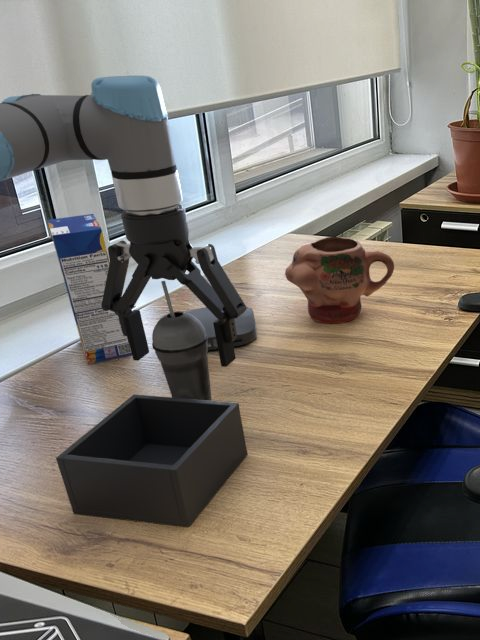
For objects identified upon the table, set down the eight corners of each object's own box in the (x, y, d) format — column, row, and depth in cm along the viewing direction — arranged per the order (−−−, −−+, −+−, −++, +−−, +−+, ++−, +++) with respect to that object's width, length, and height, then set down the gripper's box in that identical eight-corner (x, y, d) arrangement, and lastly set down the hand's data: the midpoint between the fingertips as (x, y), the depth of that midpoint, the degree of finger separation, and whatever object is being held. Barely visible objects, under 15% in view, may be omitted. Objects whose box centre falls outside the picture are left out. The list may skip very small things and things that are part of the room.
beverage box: (88, 365, 117) (52, 235, 107) (80, 341, 125) (47, 219, 115) (132, 355, 120) (101, 228, 110) (122, 332, 128) (93, 213, 119)
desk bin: (73, 514, 82) (55, 457, 78) (146, 444, 95) (133, 394, 91) (189, 527, 79) (175, 470, 76) (247, 454, 92) (238, 402, 89)
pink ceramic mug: (391, 297, 142) (387, 229, 136) (400, 320, 132) (396, 248, 126) (290, 306, 138) (281, 238, 132) (291, 331, 128) (281, 257, 122)
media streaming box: (253, 314, 135) (251, 299, 134) (258, 345, 123) (256, 329, 121) (172, 325, 131) (169, 310, 130) (169, 358, 119) (165, 341, 117)
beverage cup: (187, 432, 97) (158, 297, 89) (158, 416, 101) (127, 285, 93) (232, 410, 103) (208, 280, 94) (202, 395, 107) (177, 270, 98)
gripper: (256, 202, 90) (278, 353, 99) (84, 197, 94) (121, 342, 104) (229, 218, 84) (255, 377, 93) (44, 212, 88) (87, 365, 97)
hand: (184, 359), depth 98 cm, fingers open, 12 cm apart
